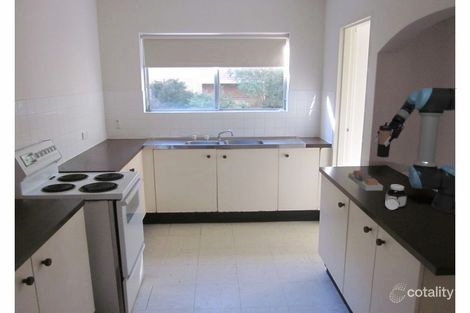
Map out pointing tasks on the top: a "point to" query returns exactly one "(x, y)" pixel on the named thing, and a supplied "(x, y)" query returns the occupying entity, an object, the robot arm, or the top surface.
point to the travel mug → (383, 141)
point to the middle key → (364, 176)
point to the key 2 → (371, 181)
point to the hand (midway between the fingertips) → (380, 144)
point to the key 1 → (358, 173)
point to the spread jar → (395, 197)
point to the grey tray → (364, 185)
